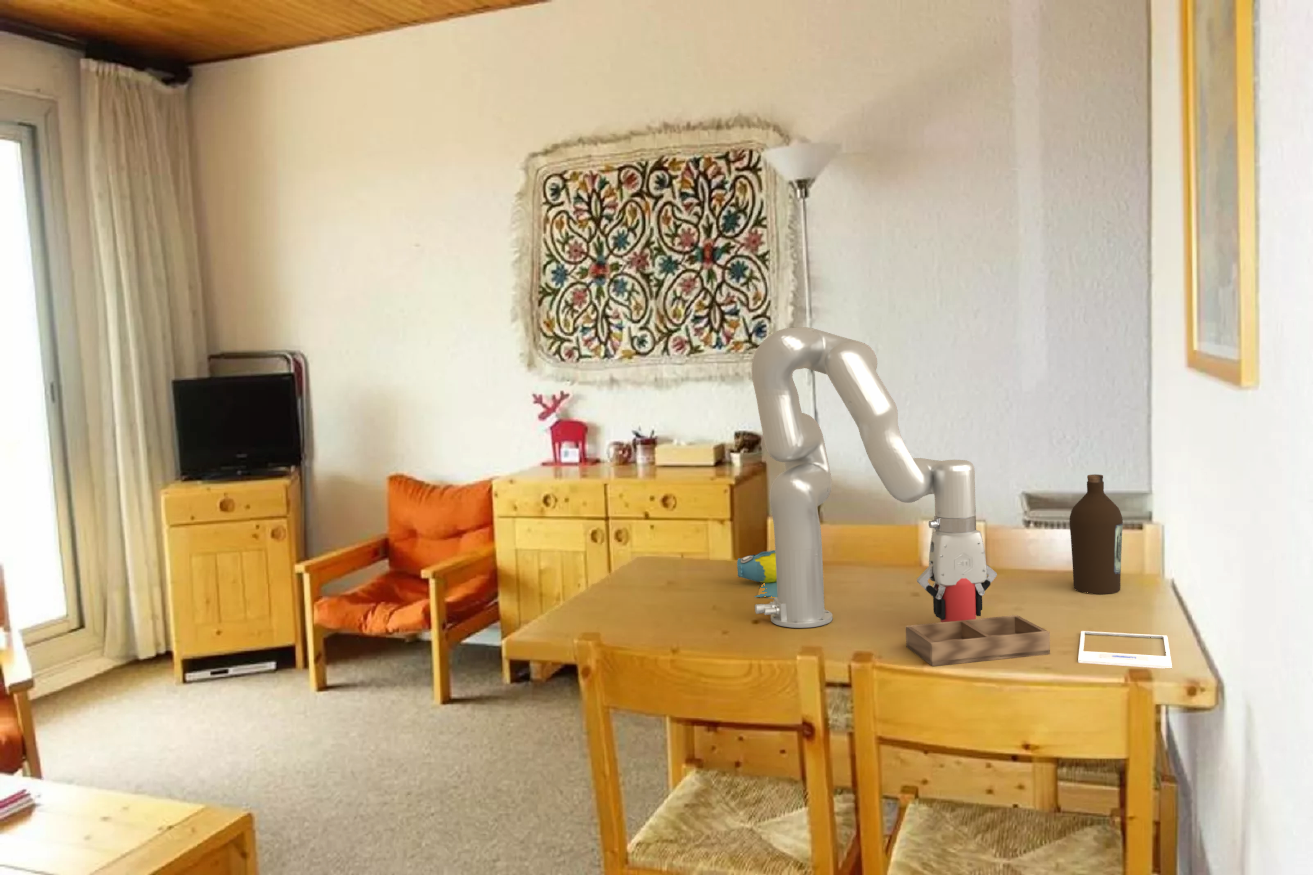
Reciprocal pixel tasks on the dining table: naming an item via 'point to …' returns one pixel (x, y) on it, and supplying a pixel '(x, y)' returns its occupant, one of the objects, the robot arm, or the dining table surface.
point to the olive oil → (1096, 541)
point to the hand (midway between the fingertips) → (958, 615)
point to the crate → (977, 640)
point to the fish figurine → (760, 571)
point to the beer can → (960, 601)
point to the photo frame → (1125, 659)
